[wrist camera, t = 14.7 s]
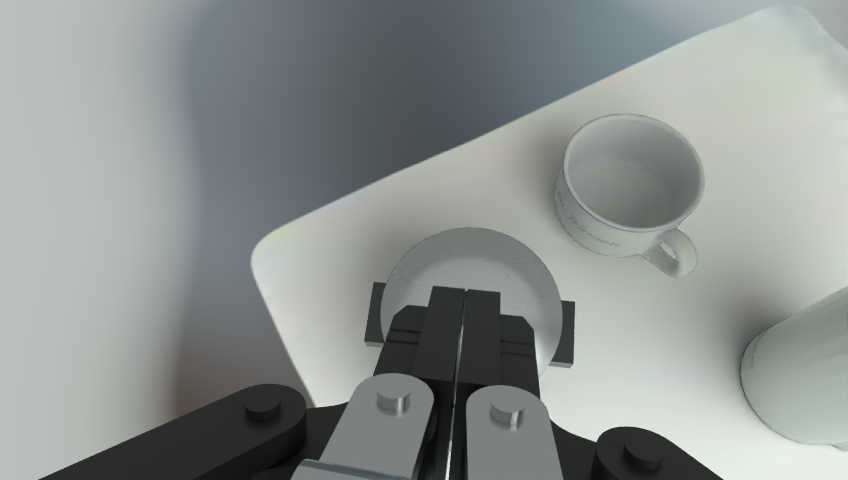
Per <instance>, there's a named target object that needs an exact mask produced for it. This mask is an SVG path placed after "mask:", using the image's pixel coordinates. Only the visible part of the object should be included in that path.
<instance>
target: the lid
mask: <svg viewBox="0 0 848 480" xmlns="http://www.w3.org/2000/svg"><path fill="white" fill-rule="evenodd" d="M433 286H443V287H453V288H463V289H465V300H464V312H463V324H462V335H463V327H464V318H465V310H466V302H467V294H468V289H475V290H485V291H495V292H500V293H501V303H500V314H505V315H515V316H523V317H524V318H525V319H526V321H527V322H528V323H529V324H530V326H531V327H532V328H533V329H534V337H535V348H536V358H537V369H538V378H539V377H540V375H541V374H542V373H543V371H544V370H545V369H546V368H547V366H548V365H549V363H550V361H551V360H552V358H553V356H554V354H555V352H556V349H557V347H558V344H559V340H560V336H561V331H562V322H563V317H562V305H561V299H560V295H559V292H558V288H557V286H556V283H555V281H554V279H553V277H552V275H551V273H550V272H549V270H548V269H547V267H546V266H545V264H544V263H543V262H542V261H541V259H540V258H539V257H538V256H537V255H536V254H535V253H534V252H533V251H532V250H531V249H529V248H528V247H527V246H525V245H524V244H522V243H521V242H519V241H518V240H516V239H514V238H512V237H510V236H508V235H505V234H503V233H500V232H497V231H493V230H489V229H483V228H457V229H452V230H447V231H444V232H441V233H438V234H435V235H433V236H431V237H429V238H427V239H425V240H423V241H422V242H420V243H419V244H417V245H416V246H414V247H413V248H412V249H411V250H410V251H408V252H407V253H406V254H405V255H404V257H403V258H402V259H401V260H400V261H399V262H398V264H397V265H396V267H395V268H394V269H393V271H392V273H391V275H390V277H389V279H388V281H387V284H386V286H385V289H384V292H383V297H382V302H381V313H380V316H381V328H382V333H383V338H384V341H385V340H386V337H387V334H388V331H389V328H390V325H391V322H392V319H393V316H394V315H395V314H396V313H397V312H399V311H400V310H401V309H402V308H404V307H405V306H406V305H415V306H425V307H428V303H429V299H430V295H431V291H432V287H433ZM461 343H462V336H461ZM460 352H461V348H460ZM459 360H460V359H459ZM455 398H456V395H455ZM454 405H455V404H454Z"/></svg>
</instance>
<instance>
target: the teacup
mask: <svg viewBox="0 0 848 480" xmlns="http://www.w3.org/2000/svg"><path fill="white" fill-rule="evenodd" d="M703 190H704V171H703V167H702V164H701V161H700V158H699V156H698V154H697V153H696V151H695V149H694V148H693V147H692V145H691V144H690V143H689V141H688V140H687V139H686V138H685V137H684V136H682V135H681V134H680V133H679V132H678V131H676V130H675V129H673V128H672V127H670V126H669V125H667V124H665V123H663V122H661V121H659V120H656V119H653V118H650V117H647V116H643V115H636V114H613V115H608V116H603V117H599V118H597V119H595V120H593V121H590V122H589V123H587V124H585V125H584V126H583V127H581V128H580V129H579V130H578V131H577V132H576V133H575V134H574V135H573V137H572V138H571V140H570V141H569V143H568V145H567V147H566V150H565V153H564V157H563V162H562V165H561V168H560V171H559V175H558V178H557V183H556V188H555V205H556V210H557V214H558V216H559V219H560V221H561V223H562V225H563V227H564V228H565V229H566V231H567V232H568V233H569V234H570V236H571V237H572V238H573V239H575V240H576V241H577V242H578V243H579V244H581V245H582V246H584V247H586V248H587V249H589V250H591V251H593V252H596V253H599V254H602V255H606V256H612V257H628V256H634V255H638V254H639V255H641V256H642V257H643V258H644V259H647V260H649V261H650V262H651V263H653V264H654V265H655V266H656V267H657V268H659V269H660V270H661V271H662V272H664V273H665V274H667V275H669V276H672V277H683V276H686V275H687V274H689V273H691V272H692V271H693V270H694V269H695V267H696V265H697V252H696V249H695V247H694V245H693V243H692V242H691V240H690V239H689V237H687V236H686V235H685V234H684V233H683V232H681V231H680V230H678V229H677V227H678V226H679V225H680V223H681V222H682V221H683V220H684V219H685V218H686V217H688V216H689V215H690V214H691V213H692V211H693V210H694V209H695V208H696V206H697V205H698V203H699V201H700V200H701V197H702V194H703ZM663 242H665V243H667V244H668V245H669V246H670V247H671V248H672V249H673V251H674V253H675V255H676V258H677V261H676V260H675V259H673V258H672V257H671V256H669V255H668V254H667V253H666V252H665V251H664V250H663V249H662V248H661V247H660V244H661V243H663Z"/></svg>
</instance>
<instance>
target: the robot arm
mask: <svg viewBox="0 0 848 480" xmlns="http://www.w3.org/2000/svg"><path fill="white" fill-rule="evenodd" d="M464 300H465V289H463V288H453V287H443V286H433V287H432V291H431V295H430V299H429V303H428V307H425V306H415V305H406V306H405V307H404V308H402V309H401V310H400V311H399V312H397V313H396V314H395V315H394V316H393V319H392V322H391V325H390V328H389V331H388V334H387V337H386V340H385V342H384V345H383V348H382V351H381V354H380V357H379V360H378V363H377V365H376V368H375V371H374V374H373V377H370V378H368V379H366V380H364V381H363V382H362V383H360V384H359V385H358V386H357V388H356V389H355V391H354V393H353V395H352V397H351V399H350V401H349V402H346V403H343V404H339V405H335V406H328V407H319V408H309V409H306V402H305V399H304V397H303V396H302V395H301V394H300V393H299V392H298V391H296V390H295V389H293V388H290V387H288V386H284V385H278V384H261V385H255V386H252V387H248V388H245V389H243V390H240V391H238V392H236V393H233V394H231V395H229V396H227V397H225V398H222V399H220V400H218V401H216V402H213V403H211V404H209V405H206V406H204V407H202V408H200V409H197V410H195V411H193V412H190V413H188V414H186V415H184V416H181V417H179V418H177V419H175V420H172V421H170V422H168V423H166V424H163V425H161V426H159V427H156V428H154V429H152V430H150V431H147V432H145V433H143V434H141V435H138V436H136V437H134V438H132V439H129V440H127V441H125V442H123V443H120V444H118V445H116V446H113V447H112V448H109V449H107V450H105V451H102V452H100V453H98V454H95V455H93V456H91V457H89V458H86V459H84V460H82V461H80V462H77V463H75V464H73V465H70V466H68V467H66V468H64V469H61V470H59V471H57V472H55V473H53V474H50V475H48V476H46V477H43V478H41V479H39V480H445V479H446V470H447V462H448V454H449V445H450V437H451V429H452V420H453V412H454V422H453V435H452V447H451V459H450V471H449V480H723V479H722V478H720V477H719V476H718V475H716V474H715V473H714V472H712V471H711V470H709V469H708V468H707V467H705V466H704V465H703V464H701V463H700V462H698V461H697V460H696V459H694V458H693V457H692V456H690V455H689V454H687V453H686V452H685V451H683V450H682V449H681V448H679V447H678V446H676V445H675V444H674V443H672V442H671V441H669V440H668V439H666V438H665V437H663V436H661V435H659V434H657V433H654V432H652V431H649V430H645V429H642V428H637V427H616V428H612V429H609V430H607V431H605V432H603V433H602V434H601V435H600V436H599V438H598V440H597V442H594V441H591V440H588V439H585V438H582V437H579V436H577V435H574V434H572V433H570V432H568V431H566V430H564V429H562V428H561V427H559V426H557V425H556V424H555V423H554V422H553V421H551V420H550V418H549V414H548V411H547V408H546V406H545V405H544V403H543V402H542V401H541V400H540V390H539V380H538V369H537V358H536V348H535V337H534V329H533V328H532V327H531V326H530V324H529V323H528V322H527V321H526V319H525V318H524V317H523V316H515V315H505V314H500V303H501V293H500V292H495V291H485V290H475V289H468V294H467V302H466V310H465V318H464V327H463V335H462V324H463V312H464ZM461 336H462V343H461ZM460 348H461V352H460ZM459 359H460V360H459ZM740 373H741V381H742V386H743V389H744V392H745V395H746V398H747V400H748V401H749V403H750V405H751V407H752V409H753V410H754V411H755V412H756V414H757V415H758V416H759V417H760V419H761V420H762V421H763V422H764V423H766V424H767V425H768V426H769V427H770V428H771V429H773V430H774V431H776V432H777V433H779V434H781V435H782V436H784V437H786V438H788V439H791V440H794V441H796V442H799V443H804V444H810V445H825V444H827V445H833V446H836V447H838V448H839V449H841V450H843V451H848V286H846V287H845V288H843V289H841V290H839V291H837V292H835V293H834V294H832V295H830V296H828V297H826V298H824V299H822V300H821V301H819V302H817V303H815V304H813V305H811V306H809V307H808V308H806V309H804V310H802V311H800V312H798V313H796V314H795V315H793V316H791V317H789V318H787V319H785V320H783V321H782V322H780V323H778V324H776V325H773V326H771V327H770V328H768V329H767V330H765V331H763V332H762V333H760V334H759V335H758V336H756V337H755V338H754V339H753V340H752V341H751V342H750V344H749V345H748V347H747V348H746V350H745V352H744V355H743V358H742V361H741V371H740ZM455 395H456V398H455ZM454 404H455V410H454Z"/></svg>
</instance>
